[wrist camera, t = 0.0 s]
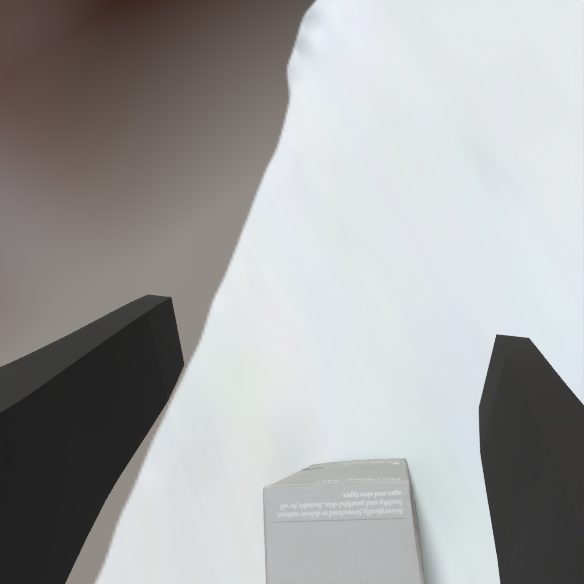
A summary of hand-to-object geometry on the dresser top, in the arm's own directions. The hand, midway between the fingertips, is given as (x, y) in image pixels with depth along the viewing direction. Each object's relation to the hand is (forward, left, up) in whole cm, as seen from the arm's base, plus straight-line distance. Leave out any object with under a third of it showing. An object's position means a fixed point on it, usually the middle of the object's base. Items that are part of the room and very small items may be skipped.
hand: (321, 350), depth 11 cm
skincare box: (-7, 0, -33) cm, 33 cm away
